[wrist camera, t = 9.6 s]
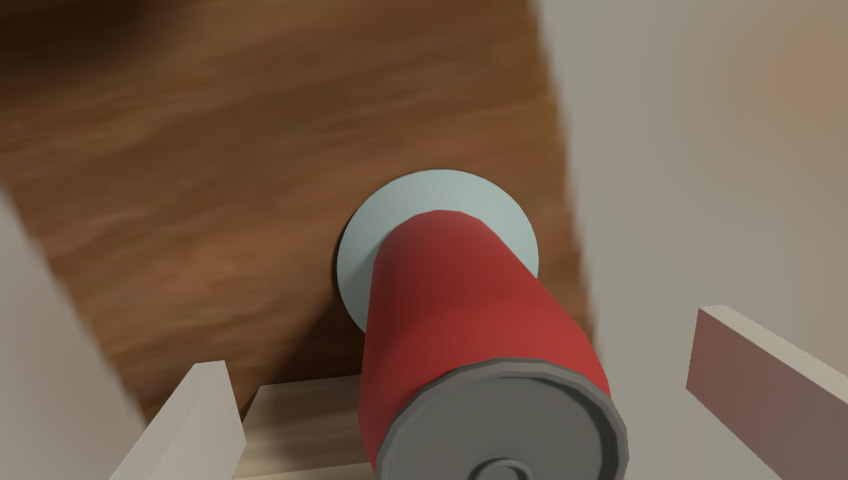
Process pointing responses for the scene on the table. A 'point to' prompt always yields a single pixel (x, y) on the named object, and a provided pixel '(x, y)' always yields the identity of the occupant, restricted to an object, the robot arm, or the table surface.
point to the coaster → (415, 198)
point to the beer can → (478, 366)
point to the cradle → (305, 432)
